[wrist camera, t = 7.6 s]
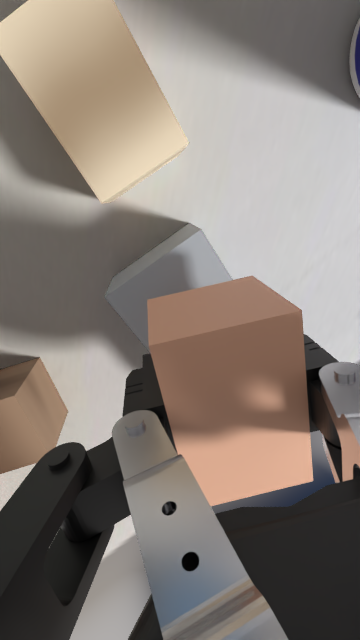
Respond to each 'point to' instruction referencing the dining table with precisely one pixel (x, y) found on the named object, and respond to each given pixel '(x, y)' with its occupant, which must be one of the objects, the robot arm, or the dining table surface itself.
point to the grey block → (164, 276)
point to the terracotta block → (234, 386)
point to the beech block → (92, 90)
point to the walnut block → (28, 414)
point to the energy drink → (355, 59)
